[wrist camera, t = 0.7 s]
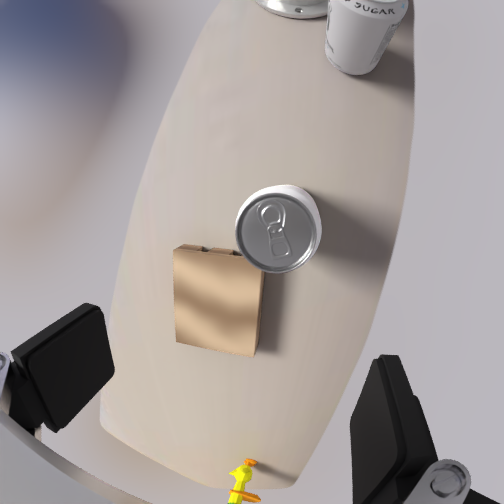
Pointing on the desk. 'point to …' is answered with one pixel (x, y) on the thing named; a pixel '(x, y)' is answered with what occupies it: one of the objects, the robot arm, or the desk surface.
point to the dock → (217, 300)
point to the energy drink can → (361, 32)
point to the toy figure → (242, 484)
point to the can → (278, 228)
